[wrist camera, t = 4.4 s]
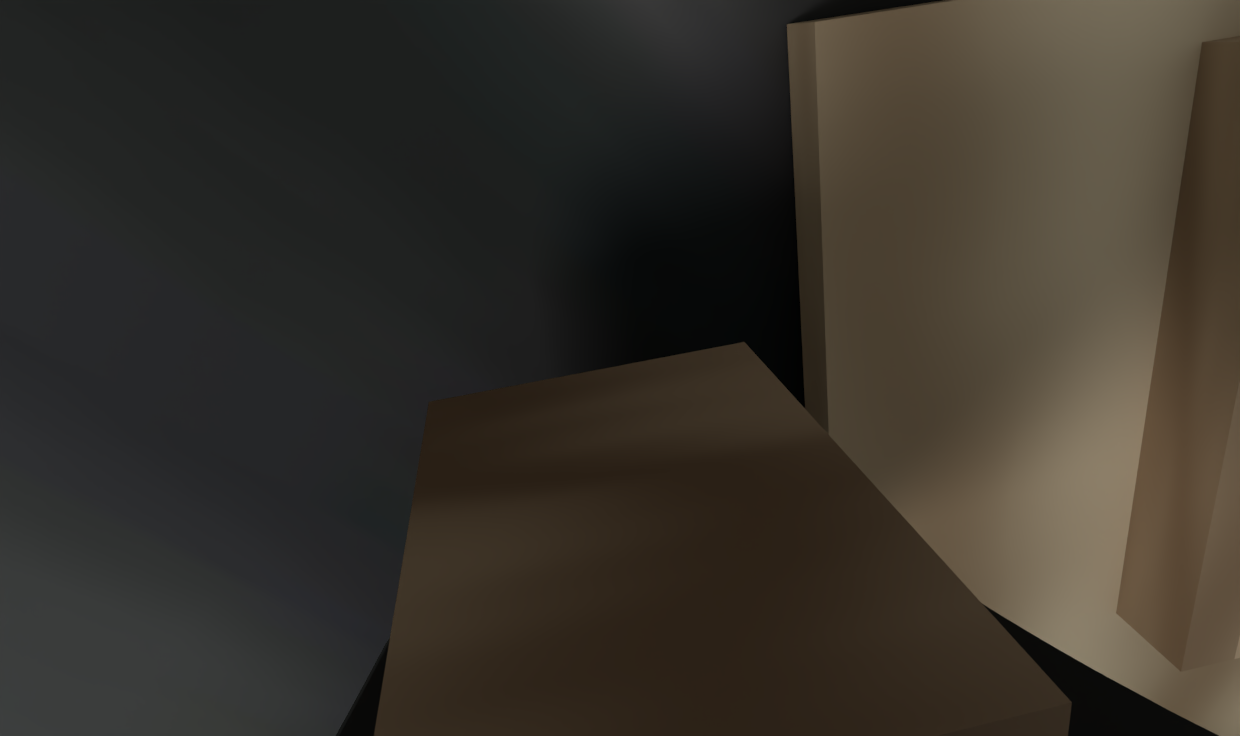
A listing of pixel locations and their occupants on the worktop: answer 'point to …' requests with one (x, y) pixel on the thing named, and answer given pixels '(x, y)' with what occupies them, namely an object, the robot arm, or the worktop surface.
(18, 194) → the worktop surface
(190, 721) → the worktop surface
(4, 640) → the worktop surface
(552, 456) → the block
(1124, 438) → the oak jig
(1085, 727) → the robot arm
